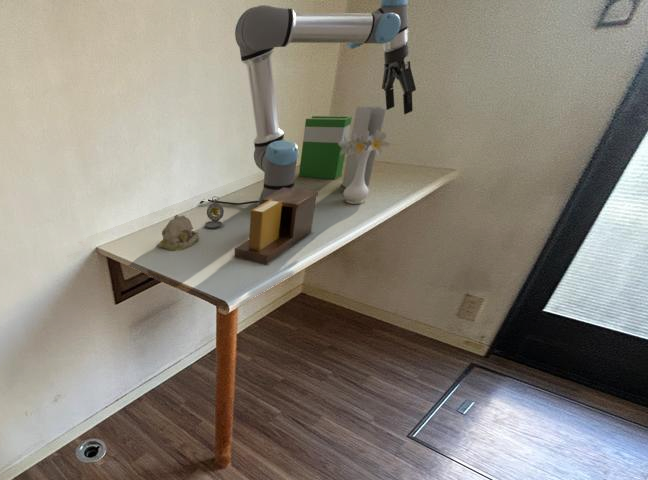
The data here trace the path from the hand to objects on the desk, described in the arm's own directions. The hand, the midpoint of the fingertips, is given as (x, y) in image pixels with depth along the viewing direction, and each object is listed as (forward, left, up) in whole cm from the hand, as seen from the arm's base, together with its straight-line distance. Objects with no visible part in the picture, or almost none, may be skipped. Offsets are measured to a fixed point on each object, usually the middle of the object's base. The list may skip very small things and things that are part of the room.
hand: (399, 110), depth 161 cm
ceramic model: (-37, -93, -28) cm, 104 cm away
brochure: (-8, -8, -28) cm, 30 cm away
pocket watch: (-36, -72, -28) cm, 85 cm away
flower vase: (-2, -25, -28) cm, 38 cm away
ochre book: (-7, -85, -25) cm, 89 cm away
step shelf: (-7, -77, -28) cm, 82 cm away
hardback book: (-30, +6, -28) cm, 42 cm away
